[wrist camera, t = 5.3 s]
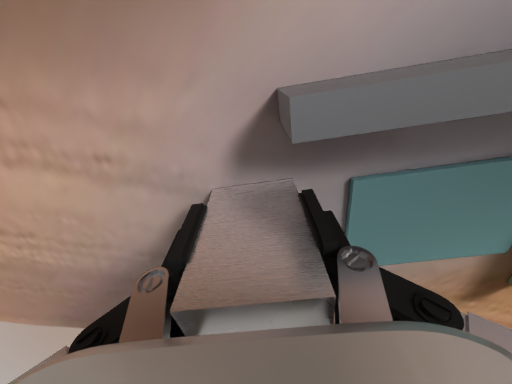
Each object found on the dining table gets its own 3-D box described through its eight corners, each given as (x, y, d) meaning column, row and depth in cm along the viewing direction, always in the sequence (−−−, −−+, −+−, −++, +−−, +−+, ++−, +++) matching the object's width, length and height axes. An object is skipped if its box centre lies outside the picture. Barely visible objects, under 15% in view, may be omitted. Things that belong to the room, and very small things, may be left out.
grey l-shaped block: (212, 189, 13) (169, 312, 6) (293, 178, 12) (335, 296, 6) (239, 279, 17) (231, 404, 11) (298, 273, 17) (326, 398, 10)
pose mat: (351, 177, 12) (353, 180, 12) (567, 149, 11) (576, 151, 11) (341, 265, 16) (343, 269, 16) (500, 248, 16) (506, 252, 15)
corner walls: (276, 76, 9) (288, 79, 6) (771, -8, 8) (1150, -66, 5) (295, 301, 19) (304, 352, 15) (525, 280, 18) (592, 330, 14)
